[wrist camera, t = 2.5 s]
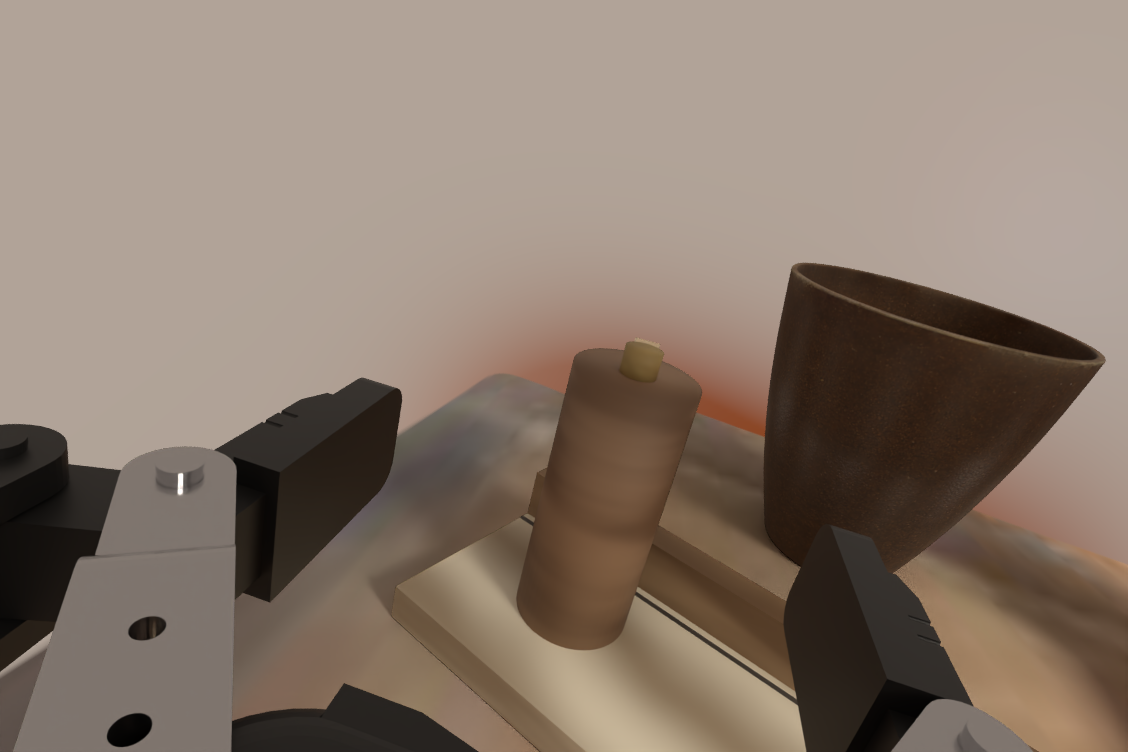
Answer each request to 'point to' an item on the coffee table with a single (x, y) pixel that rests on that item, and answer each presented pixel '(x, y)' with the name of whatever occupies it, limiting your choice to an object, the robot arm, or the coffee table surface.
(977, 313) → the plant pot
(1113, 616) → the coffee table surface
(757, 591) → the board
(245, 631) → the coffee table surface
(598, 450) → the cylinder
